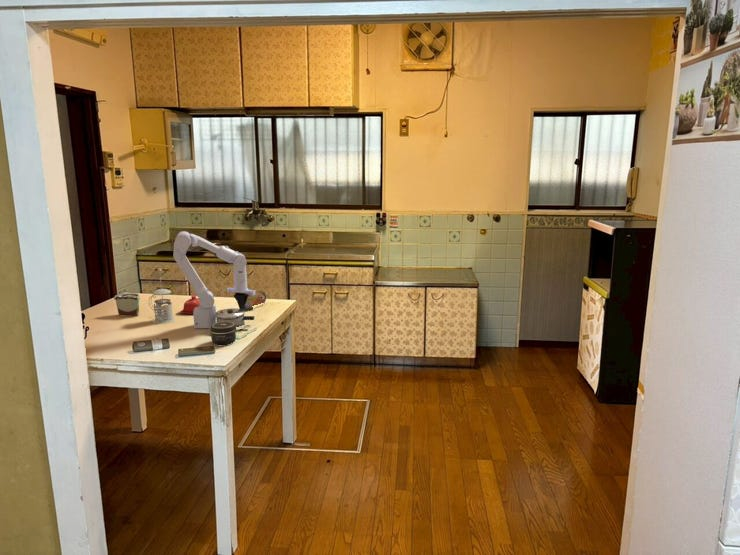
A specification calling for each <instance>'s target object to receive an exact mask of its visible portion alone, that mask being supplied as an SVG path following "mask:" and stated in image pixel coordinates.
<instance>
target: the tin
mask: <svg viewBox="0 0 740 555" xmlns="http://www.w3.org/2000/svg"><path fill="white" fill-rule="evenodd" d="M255 294H256V295H253V296H252V295H249V296H248V298H247V300H246V304H245V307H249V306H254V305H258V304H261V303H264V304H265V303H266V301H267V295H266V293H265V292H264V291H263V290H255Z"/></svg>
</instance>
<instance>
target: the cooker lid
mask: <svg viewBox="0 0 740 555" xmlns="http://www.w3.org/2000/svg"><path fill="white" fill-rule="evenodd" d="M253 310H254V309H253V307H252V306H249V307H243V308H235V307H233V308H232V307H231V308H223V309H219V310H216V313H215V314H216V317H218V318H222V319H231V318H238V317H241V316H243V315H244V316H245V315H246V314H245V313H247V312H251V311H253Z"/></svg>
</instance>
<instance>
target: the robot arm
mask: <svg viewBox="0 0 740 555" xmlns="http://www.w3.org/2000/svg"><path fill="white" fill-rule="evenodd" d="M190 246H191V247H201V248H203V249H205V250H208V251H210V252H212V253H214V254H215V255H216V257H217V258H218V259H219V260H220V259H221V260H222V261H224V262H227V263H228V264H233V286H234V287H227V288H226V293H233V298H234V299H235V300H236V302H237V303H236V304H237V305H238V309H240V308H243V307H245V304H246V300H247V298H248V296H249V295H252V296H253V295H256V294H255V291H256V290H255V289H254V290H253V289H250V288H248V275H247V273H248V272H247V266H246V265H247V264H248V261H247V259H246V257H245V255H244V254H243V253H241V252H239V251H238V250H236V251H235V250H234V249H231V248H229V246H228V245H220V246H218V245H217V244H214V243H213V242H210V241H209V240H207V239H205V238H202V237H201V236H199V235H196V234H194V233H190V232H189V231H186V230H183V231H182V230H181V231H179V232H178V233H177V234H176V237H175V239H174V243H173V255H172V257H173V259H174V261H175V263H177V265H178V267H179V268H180V270H181V272H182V273H183V274H184V276H185V277H186V279H187V281H188V282H189V284H190V285H191V287H192V289H193V290H194V293H195V294H196V297H197V298H199V303H200V305H199V307H195V308H194V312H193V314H192V315H193V326H194V327H193V329H211V325H212V324H214V323H217V318H216V314H215V313H216V312H217V307H216V304H215V298H214V297H215V296H214V294H213V292H212V291H211V290H209V289H208V288H207V287H206V284H204V282H203V280H201V278H200V276H199V275H198V273H197V271H196V270H195V268H194V267H193V265H192V264H191V262H190V261H189V258H188V257H187V255H186V254H187V251H188V249H189V248H190Z"/></svg>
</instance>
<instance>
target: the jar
mask: <svg viewBox="0 0 740 555" xmlns="http://www.w3.org/2000/svg"><path fill="white" fill-rule="evenodd" d="M236 332H237V331H236V327H235V323H233V322H229V321H223V322H217V323H214V324H212V325H211V328H210V337H211V343H212V344H213V345H214V344H215V346H218V345H222V346H223V345H225V346H229V345H228V344H230V345H232V344H234V343H235V341H236V339H237V333H236ZM233 342H234V343H233ZM231 343H232V344H231ZM222 346H221V347H222ZM223 347H224V346H223Z"/></svg>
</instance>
